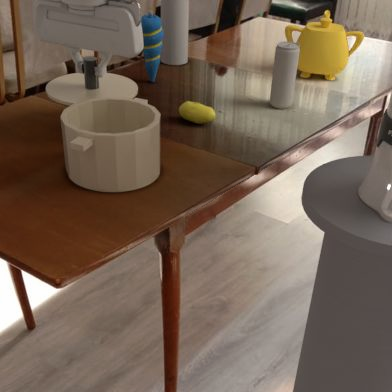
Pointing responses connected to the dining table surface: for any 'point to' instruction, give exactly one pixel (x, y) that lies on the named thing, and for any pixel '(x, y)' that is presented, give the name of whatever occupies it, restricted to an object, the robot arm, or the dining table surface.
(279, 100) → the beverage can
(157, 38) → the ornament
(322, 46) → the yellow sugar bowl
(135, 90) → the lid
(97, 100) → the pot
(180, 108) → the lemon
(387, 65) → the dining table surface
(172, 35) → the bottle
